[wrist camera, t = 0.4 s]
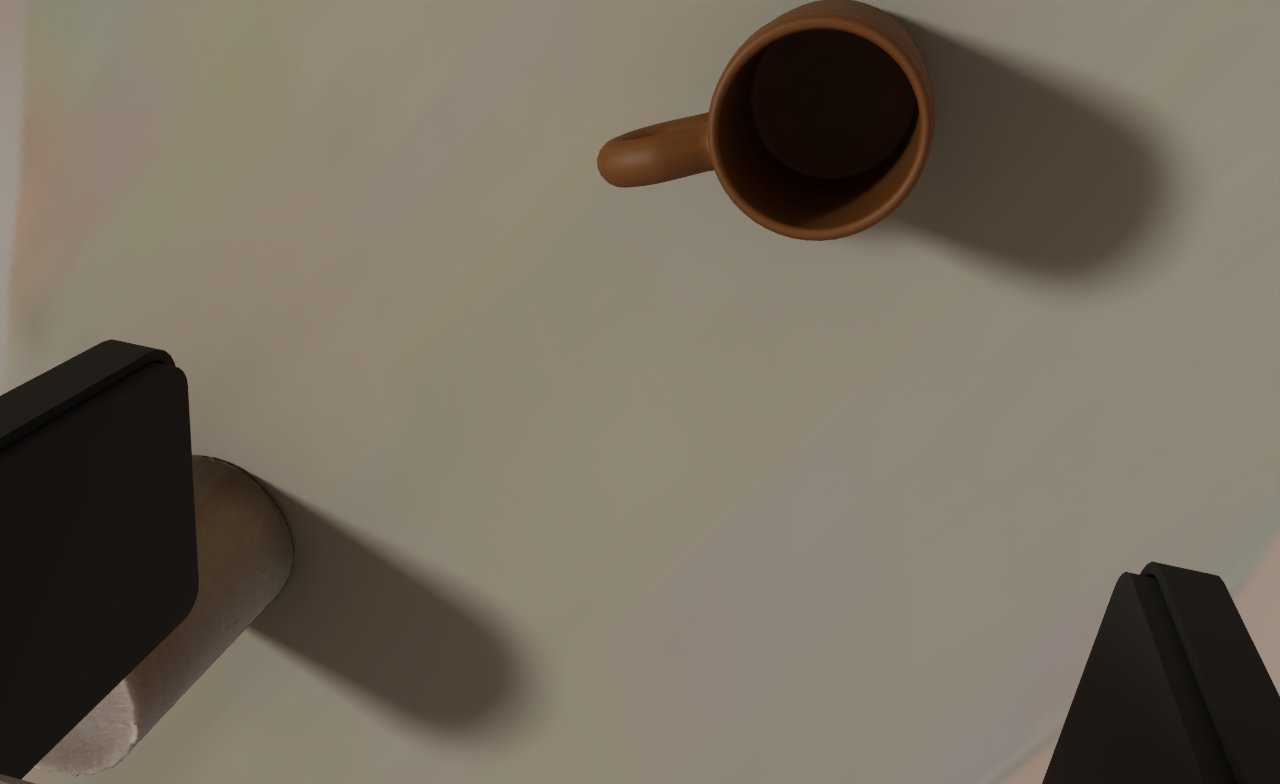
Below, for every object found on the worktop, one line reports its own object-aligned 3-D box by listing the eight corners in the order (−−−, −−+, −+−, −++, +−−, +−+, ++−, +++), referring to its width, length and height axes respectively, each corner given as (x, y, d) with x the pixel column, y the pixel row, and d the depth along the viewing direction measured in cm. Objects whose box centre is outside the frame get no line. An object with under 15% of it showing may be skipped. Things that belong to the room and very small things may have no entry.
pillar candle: (138, 430, 58) (-94, 582, 45) (305, 487, 57) (119, 659, 44) (133, 576, 62) (-80, 755, 49) (289, 632, 61) (114, 829, 48)
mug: (659, 221, 48) (606, 281, 39) (620, 43, 45) (555, 66, 37) (941, 171, 44) (950, 225, 36) (916, -24, 42) (920, -15, 33)
